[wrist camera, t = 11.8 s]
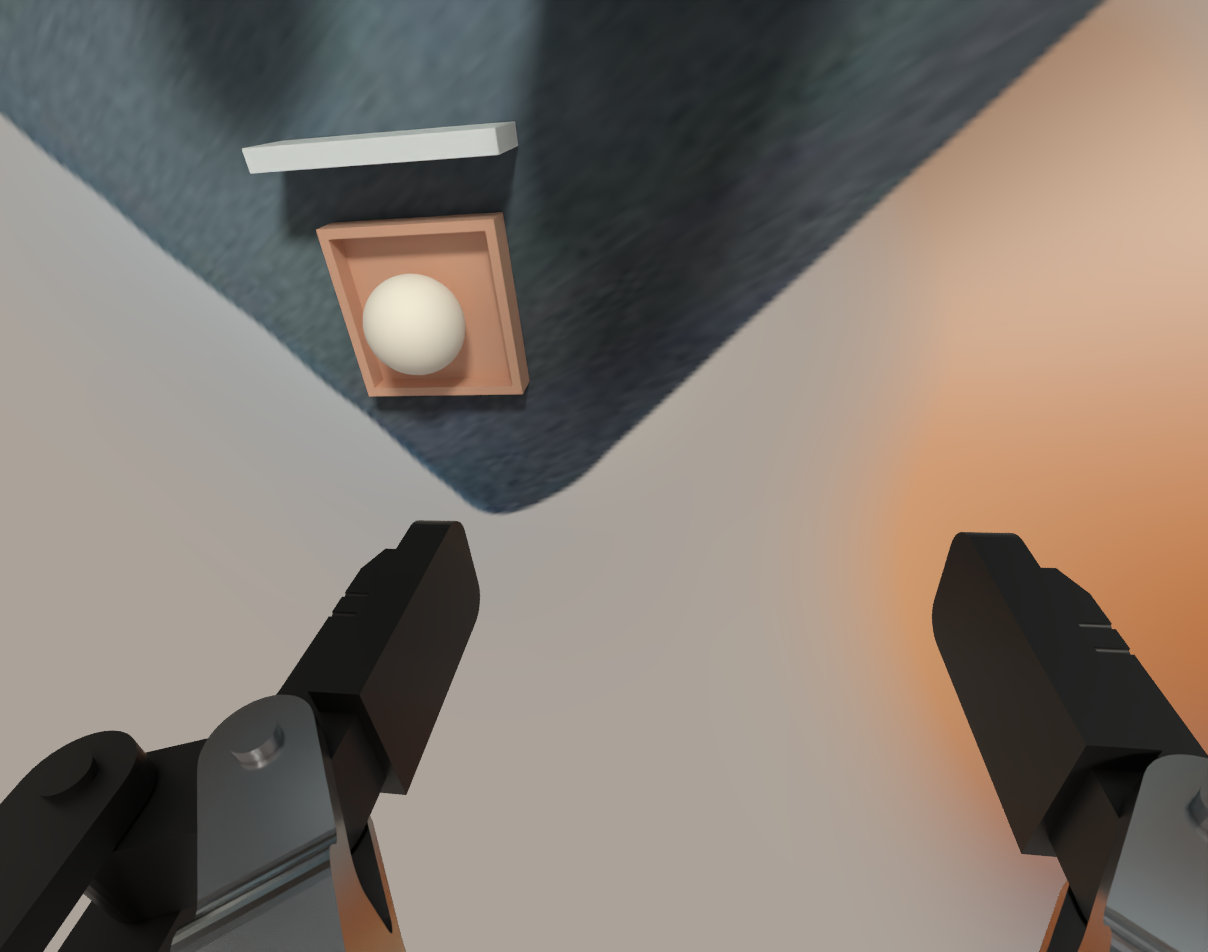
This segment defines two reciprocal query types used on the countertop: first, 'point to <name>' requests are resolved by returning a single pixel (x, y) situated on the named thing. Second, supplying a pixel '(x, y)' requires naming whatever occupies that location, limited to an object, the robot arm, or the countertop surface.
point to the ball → (414, 324)
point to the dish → (461, 263)
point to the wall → (383, 147)
